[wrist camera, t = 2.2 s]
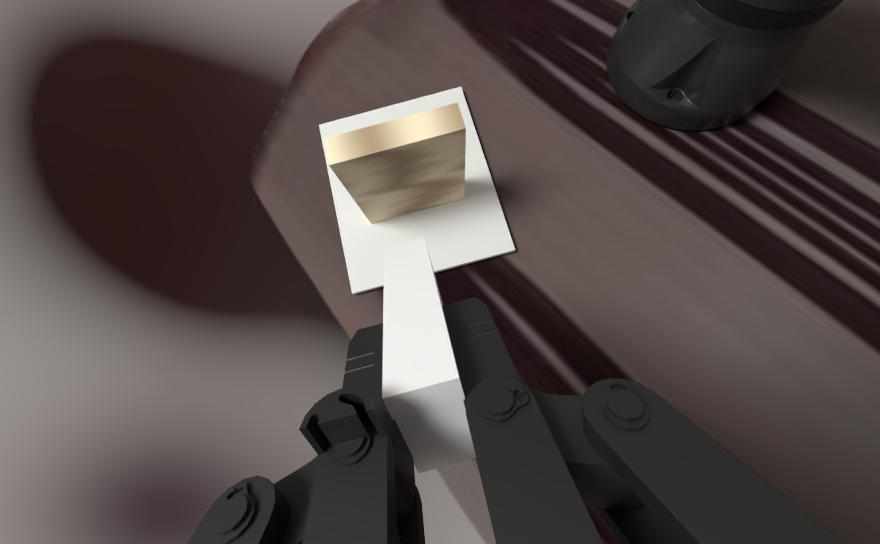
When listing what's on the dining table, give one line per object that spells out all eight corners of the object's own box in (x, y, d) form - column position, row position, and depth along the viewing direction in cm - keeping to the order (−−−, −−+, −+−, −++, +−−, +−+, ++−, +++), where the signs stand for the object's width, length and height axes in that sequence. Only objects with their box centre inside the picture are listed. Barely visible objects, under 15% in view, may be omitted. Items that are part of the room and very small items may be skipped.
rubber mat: (461, 91, 34) (461, 86, 33) (514, 251, 30) (515, 249, 29) (321, 128, 34) (319, 125, 33) (354, 294, 30) (352, 293, 29)
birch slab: (458, 179, 31) (457, 102, 21) (464, 198, 30) (465, 128, 21) (366, 204, 31) (323, 138, 21) (371, 223, 30) (328, 165, 21)
